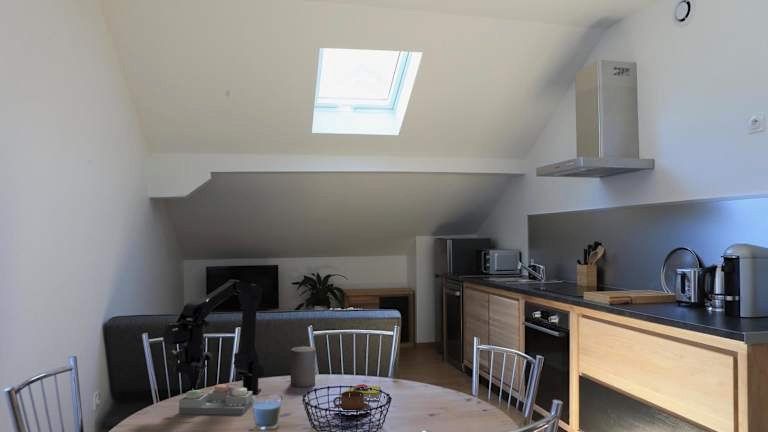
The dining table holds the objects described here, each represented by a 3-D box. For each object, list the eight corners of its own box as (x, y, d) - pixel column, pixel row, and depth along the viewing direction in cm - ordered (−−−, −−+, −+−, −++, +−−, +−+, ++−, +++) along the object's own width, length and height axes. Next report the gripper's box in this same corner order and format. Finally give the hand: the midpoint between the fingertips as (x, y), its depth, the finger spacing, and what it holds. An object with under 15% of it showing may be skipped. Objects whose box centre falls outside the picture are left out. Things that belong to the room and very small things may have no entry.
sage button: (189, 397, 185) (189, 390, 185) (203, 397, 185) (203, 390, 185) (183, 401, 180) (183, 394, 181) (198, 402, 180) (198, 394, 180)
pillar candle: (285, 384, 215) (285, 345, 216) (304, 379, 223) (304, 342, 224) (301, 388, 209) (302, 348, 210) (320, 383, 217) (320, 345, 217)
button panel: (196, 400, 194) (197, 387, 194) (255, 401, 193) (256, 388, 193) (178, 413, 179) (179, 399, 179) (242, 414, 178) (242, 400, 178)
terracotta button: (217, 391, 193) (217, 384, 193) (230, 391, 193) (230, 384, 193) (212, 395, 188) (212, 387, 188) (226, 395, 188) (226, 387, 188)
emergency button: (346, 381, 205) (387, 383, 202) (346, 393, 204) (387, 395, 202) (341, 388, 195) (383, 389, 193) (341, 400, 195) (383, 402, 193)
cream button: (234, 394, 189) (234, 387, 189) (248, 394, 188) (248, 387, 188) (230, 398, 184) (230, 391, 184) (244, 399, 183) (244, 391, 184)
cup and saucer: (341, 421, 172) (341, 401, 172) (329, 410, 183) (329, 391, 183) (376, 416, 177) (376, 396, 177) (362, 405, 188) (362, 387, 188)
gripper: (182, 335, 193) (182, 381, 193) (158, 346, 175) (157, 396, 174) (213, 336, 193) (213, 381, 192) (192, 346, 174) (192, 396, 173)
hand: (194, 388), depth 183 cm, fingers closed
